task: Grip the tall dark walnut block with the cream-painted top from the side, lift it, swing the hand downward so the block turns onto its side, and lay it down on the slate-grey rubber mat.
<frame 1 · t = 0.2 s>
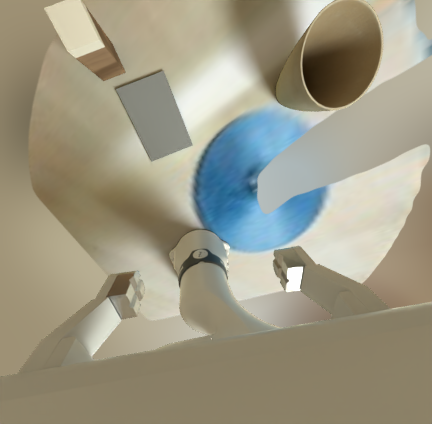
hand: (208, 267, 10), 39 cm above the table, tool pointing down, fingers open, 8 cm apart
plant pot: (289, 89, 43), on the table
walnut block: (107, 62, 36), on the table
grey mat: (157, 119, 41), on the table
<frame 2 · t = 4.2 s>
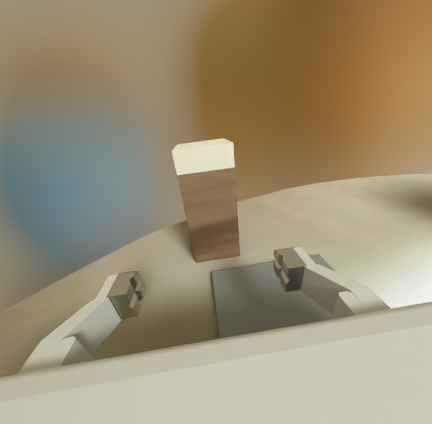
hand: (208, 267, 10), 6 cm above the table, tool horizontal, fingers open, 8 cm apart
walnut block: (215, 245, 22), on the table
grey mat: (313, 363, 11), on the table
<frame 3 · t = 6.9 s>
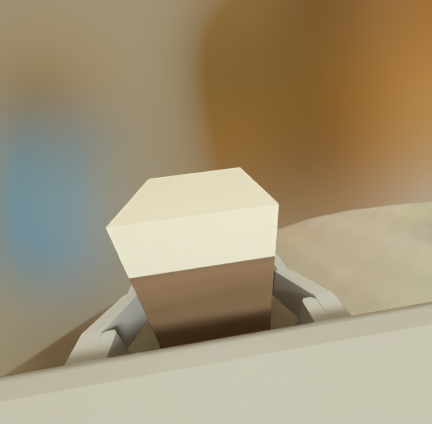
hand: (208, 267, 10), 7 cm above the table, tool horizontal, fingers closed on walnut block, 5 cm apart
walnut block: (220, 343, 13), on the table, touching gripper
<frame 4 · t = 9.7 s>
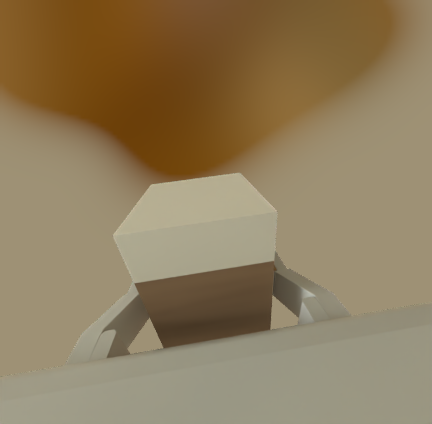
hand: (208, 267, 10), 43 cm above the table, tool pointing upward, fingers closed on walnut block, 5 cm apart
walnut block: (221, 344, 13), point 46 cm above the table, tilted 118°, touching gripper
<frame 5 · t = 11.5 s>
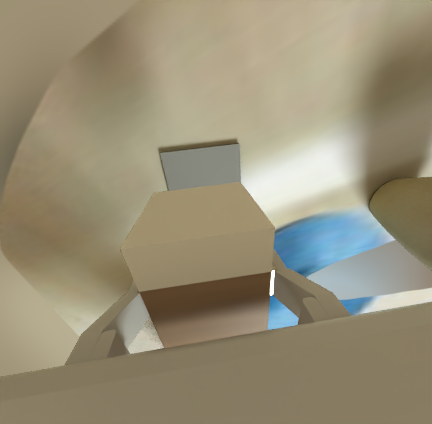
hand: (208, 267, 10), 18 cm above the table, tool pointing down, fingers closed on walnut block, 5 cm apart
plant pot: (388, 197, 32), on the table
walnut block: (220, 345, 13), point 19 cm above the table, tilted 90°, touching gripper
grey mat: (206, 199, 28), on the table
when the fingers open (4 cm above the table, at t = 14.7 s): walnut block drops 1 cm, resting on grey mat.
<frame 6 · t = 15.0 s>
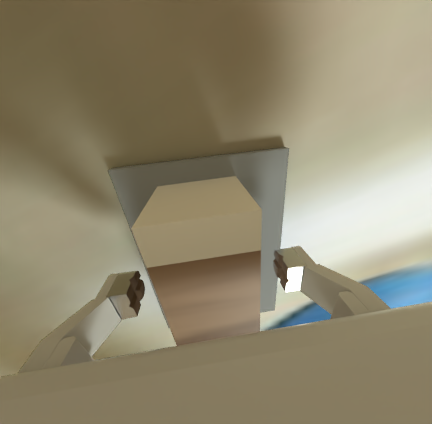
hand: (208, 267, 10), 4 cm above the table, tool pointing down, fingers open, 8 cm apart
walnut block: (219, 330, 14), point 3 cm above the table, tilted 90°, touching grey mat
grey mat: (213, 254, 15), on the table
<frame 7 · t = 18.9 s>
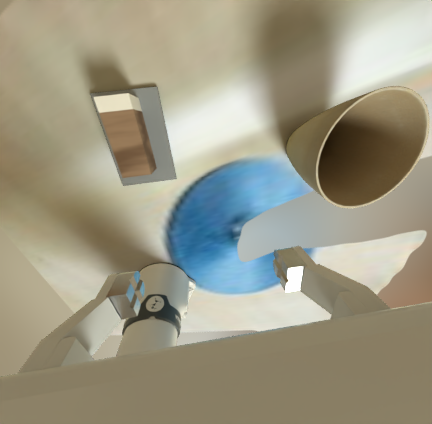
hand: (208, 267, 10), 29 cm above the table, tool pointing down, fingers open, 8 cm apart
plant pot: (302, 144, 37), on the table
walnut block: (140, 172, 33), point 3 cm above the table, tilted 90°, touching grey mat
grey mat: (139, 141, 33), on the table
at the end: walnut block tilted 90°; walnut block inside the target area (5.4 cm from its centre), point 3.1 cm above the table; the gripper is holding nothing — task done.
